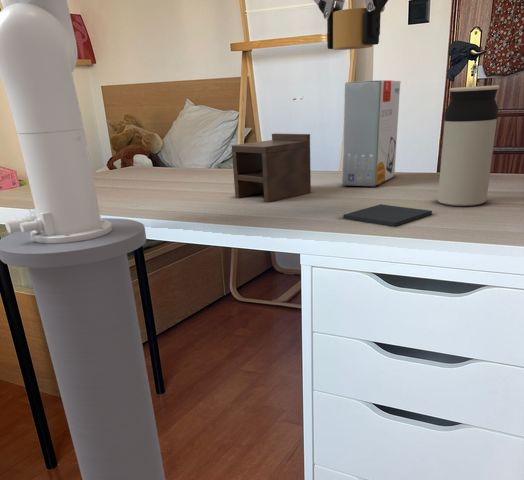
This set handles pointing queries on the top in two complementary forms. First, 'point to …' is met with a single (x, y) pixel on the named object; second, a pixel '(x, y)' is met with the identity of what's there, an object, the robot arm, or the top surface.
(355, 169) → the hard drive box
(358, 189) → the top surface
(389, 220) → the mat
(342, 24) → the tape roll
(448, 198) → the travel mug
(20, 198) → the top surface
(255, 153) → the rack
